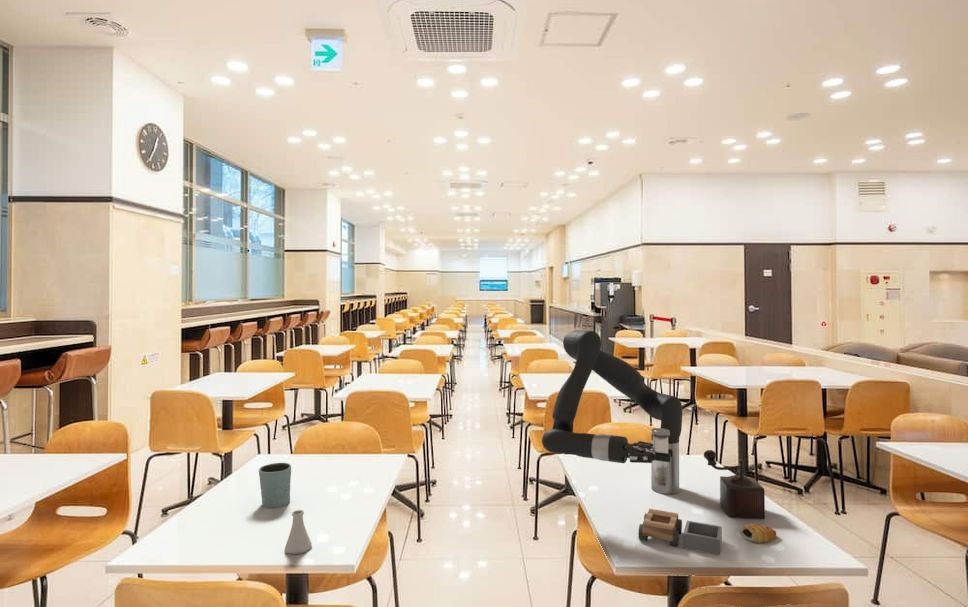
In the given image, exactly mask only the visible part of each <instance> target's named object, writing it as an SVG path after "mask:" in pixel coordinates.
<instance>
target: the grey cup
mask: <svg viewBox="0 0 968 607" xmlns="http://www.w3.org/2000/svg"><path fill="white" fill-rule="evenodd" d="M258 477H259V484H260V485H259V486H260V491H261V492H260V494H261V495H260V496H261V504H262V505H261V506H262V508H265V507H266V508H265V509H277V507H279V508H283V507H285V506H288V504H290V501H291V478H292V464H290V463H287V462H277V463H276V462H275V463H274V462H273V463H269V464H266V465H263V466H261V467H259V469H258Z"/></svg>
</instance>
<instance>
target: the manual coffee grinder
mask: <svg viewBox="0 0 968 607" xmlns="http://www.w3.org/2000/svg"><path fill="white" fill-rule="evenodd" d="M703 457H704V459H706V460H707V465H708V466H711V467H712V468H714V469H715V470H720V471H729V470H737V469H739V471H736V472H735V474H734V475H729V476H720V477H719V506H720V508H721V509H722V510H723V512H724V513H725V514H726V516H727V517H729V518H731V519H746V520H765V519H766V516H765V515H766V514H765V513H766V510H765V509H766V506H765V504H766V502H765V500H766V499H765V494H766V493H765V488H764V487H763V486H762V485H761V484H760V483H759V482H758V481H757V480H756V479H755V478H753V477H750V476H746V475H745V474H744V467H745V464H744V462H745V460H743V459H742V458H741V459H739V463H738V464H737V465H732V466H723V467H722V466H717V464H718V462H716V457H717V453H716V452H715V451H714V450H712V449H708V450H705V451H704V452H703Z"/></svg>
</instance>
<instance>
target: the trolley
mask: <svg viewBox="0 0 968 607" xmlns="http://www.w3.org/2000/svg"><path fill="white" fill-rule="evenodd" d="M643 516H644V517H643V522H642V524H641V523H640V524H639V526H638V540H641V541H646V542H647V541H648V538H655V539H660V540H665V541H668V545H669V546H673V547H675V548H676V547H679V539H680V538H679V536H680V535H682V532H683V531H682V530H683V520H682V519H680V518H679V513H678V512H672V511H667V510H661V509H660V510H659V509H653V508H648V511H647V513H645V514H644V515H643Z"/></svg>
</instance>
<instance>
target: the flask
mask: <svg viewBox="0 0 968 607" xmlns="http://www.w3.org/2000/svg"><path fill="white" fill-rule="evenodd" d="M304 513H305V511H304V509H296V510H293V511H291V516H292V524H291V528H290V530H289V535H288V538H287V540H286V544H285V547H284V553H285V554H289V555H290V554H291V555H296V554H304V553H306V552H308V551H309V550H310V549H312V548H313V547H312V546H313V545H312V541H311V538H310V536H309V533H308V532H307V529H306V526H305V522H304Z"/></svg>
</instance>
